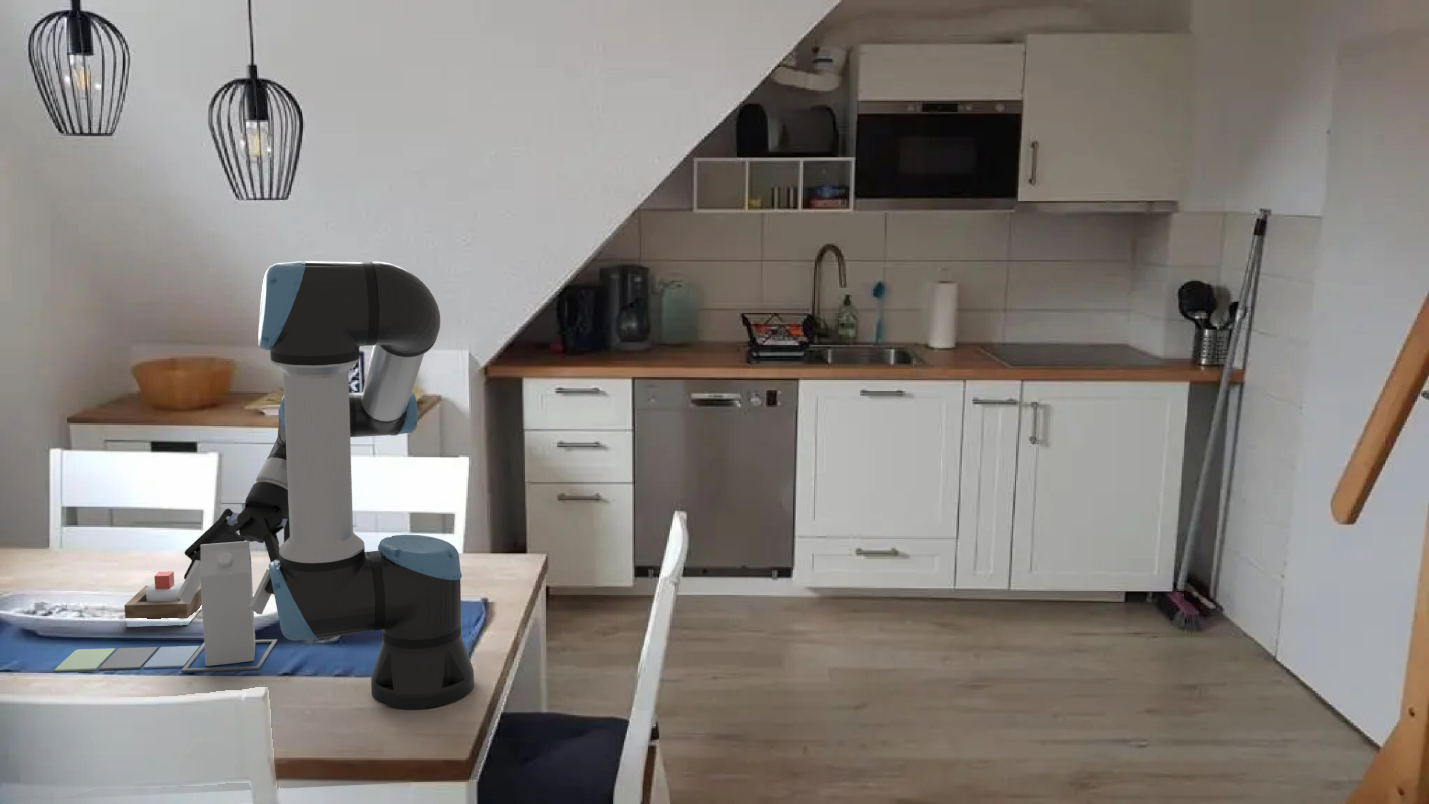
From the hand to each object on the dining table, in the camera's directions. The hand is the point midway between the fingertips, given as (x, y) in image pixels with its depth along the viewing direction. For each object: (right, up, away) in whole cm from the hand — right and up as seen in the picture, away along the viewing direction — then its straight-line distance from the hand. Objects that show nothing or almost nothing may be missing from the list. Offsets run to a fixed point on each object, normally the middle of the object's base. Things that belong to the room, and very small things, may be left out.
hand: (218, 605), depth 177 cm
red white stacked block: (-18, -4, +20) cm, 27 cm away
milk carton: (0, -9, +4) cm, 10 cm away
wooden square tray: (-18, -6, +20) cm, 27 cm away
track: (-9, -9, +2) cm, 13 cm away
